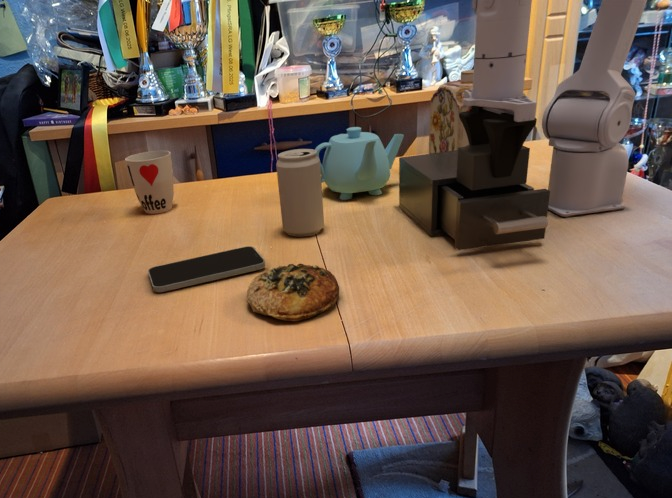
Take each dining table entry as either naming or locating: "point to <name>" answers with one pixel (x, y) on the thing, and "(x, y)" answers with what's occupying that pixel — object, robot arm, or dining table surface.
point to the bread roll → (293, 292)
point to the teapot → (357, 162)
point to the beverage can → (300, 192)
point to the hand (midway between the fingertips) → (491, 171)
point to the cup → (152, 180)
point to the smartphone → (205, 268)
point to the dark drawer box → (492, 214)
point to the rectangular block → (487, 168)
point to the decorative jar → (449, 115)
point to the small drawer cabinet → (425, 186)
